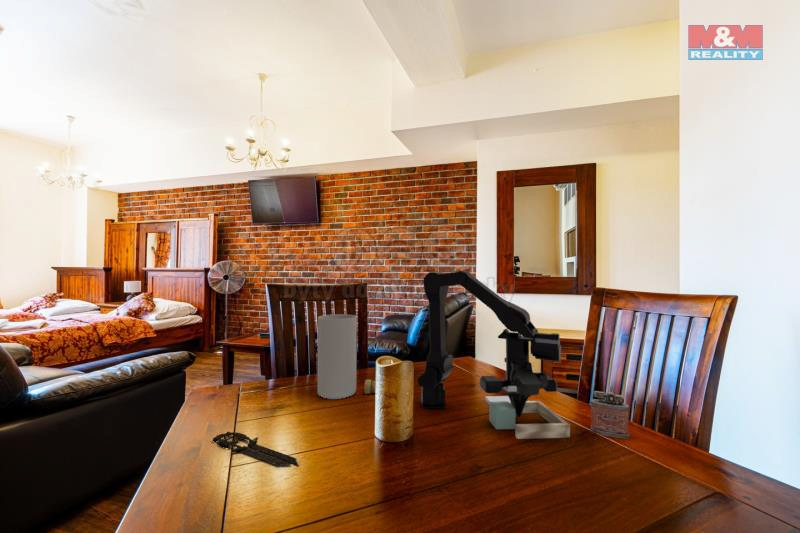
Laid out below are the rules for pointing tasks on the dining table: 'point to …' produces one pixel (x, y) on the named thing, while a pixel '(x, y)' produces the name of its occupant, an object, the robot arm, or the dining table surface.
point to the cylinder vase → (337, 356)
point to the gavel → (369, 386)
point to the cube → (502, 415)
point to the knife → (253, 445)
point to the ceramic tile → (496, 398)
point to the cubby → (547, 430)
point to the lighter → (609, 415)
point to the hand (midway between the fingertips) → (518, 416)
